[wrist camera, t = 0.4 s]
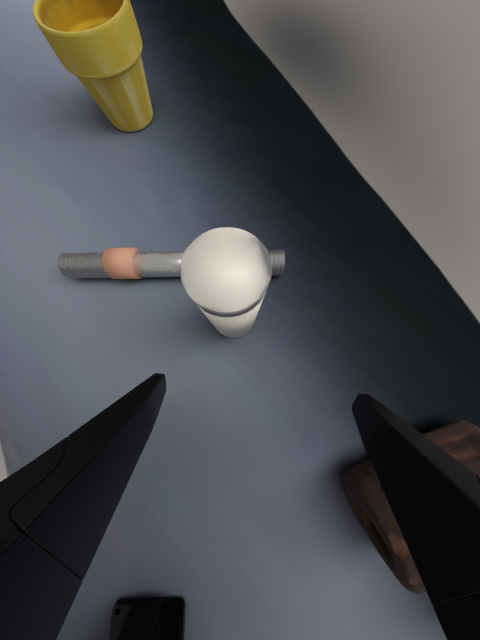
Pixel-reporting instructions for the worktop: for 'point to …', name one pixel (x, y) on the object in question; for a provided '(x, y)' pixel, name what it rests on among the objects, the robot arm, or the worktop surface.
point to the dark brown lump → (375, 513)
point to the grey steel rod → (136, 263)
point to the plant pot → (101, 54)
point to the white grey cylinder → (227, 277)
